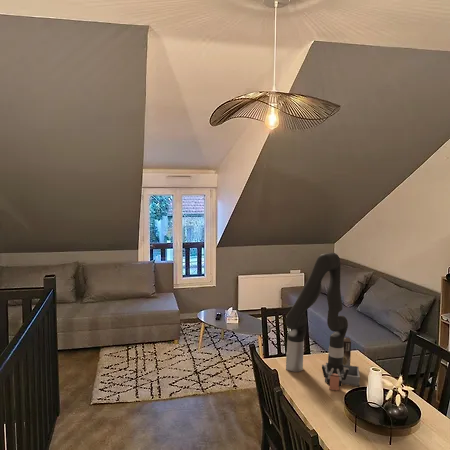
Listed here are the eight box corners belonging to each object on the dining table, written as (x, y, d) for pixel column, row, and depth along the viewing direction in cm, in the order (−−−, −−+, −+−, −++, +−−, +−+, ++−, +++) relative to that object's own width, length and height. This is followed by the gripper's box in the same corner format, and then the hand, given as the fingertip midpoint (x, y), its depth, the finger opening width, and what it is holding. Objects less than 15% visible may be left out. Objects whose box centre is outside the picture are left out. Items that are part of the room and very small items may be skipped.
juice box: (329, 389, 225) (330, 376, 224) (329, 385, 229) (330, 372, 228) (338, 390, 224) (339, 377, 223) (338, 386, 228) (339, 373, 227)
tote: (324, 381, 234) (325, 373, 233) (325, 371, 247) (325, 362, 246) (359, 386, 229) (359, 377, 229) (357, 375, 242) (358, 366, 242)
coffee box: (348, 363, 257) (349, 337, 255) (350, 368, 251) (351, 341, 249) (332, 362, 258) (333, 336, 256) (334, 367, 252) (335, 340, 250)
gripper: (321, 355, 222) (319, 387, 224) (350, 359, 219) (348, 391, 221) (321, 349, 230) (320, 380, 232) (350, 353, 226) (348, 384, 228)
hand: (334, 385), depth 226 cm, fingers closed on juice box, 4 cm apart
